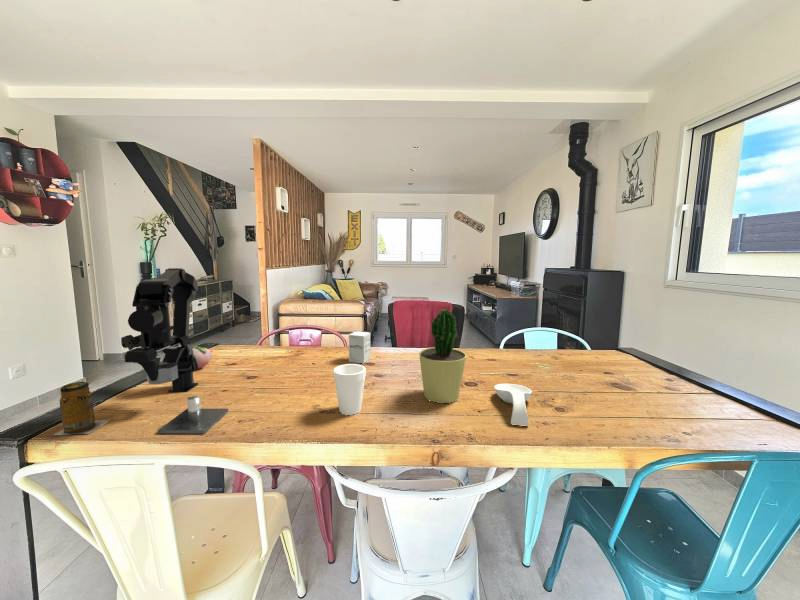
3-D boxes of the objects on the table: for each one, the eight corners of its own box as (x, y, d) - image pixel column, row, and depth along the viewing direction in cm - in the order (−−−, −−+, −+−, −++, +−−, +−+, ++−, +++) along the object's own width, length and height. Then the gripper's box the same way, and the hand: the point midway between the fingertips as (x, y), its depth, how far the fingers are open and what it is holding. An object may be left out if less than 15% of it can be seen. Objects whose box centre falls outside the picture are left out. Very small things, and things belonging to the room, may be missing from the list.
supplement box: (348, 362, 141) (348, 334, 139) (356, 357, 148) (355, 330, 146) (363, 364, 138) (363, 335, 137) (370, 359, 145) (370, 332, 144)
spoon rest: (492, 391, 113) (493, 371, 112) (527, 394, 111) (528, 374, 110) (498, 425, 90) (500, 401, 89) (543, 430, 88) (545, 405, 87)
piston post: (187, 411, 96) (185, 389, 95) (228, 411, 96) (226, 389, 95) (158, 433, 84) (155, 408, 83) (204, 433, 84) (202, 408, 83)
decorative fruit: (180, 371, 128) (178, 346, 127) (199, 364, 136) (197, 341, 135) (199, 373, 126) (197, 348, 124) (216, 366, 133) (215, 343, 132)
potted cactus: (430, 383, 118) (432, 303, 114) (470, 393, 110) (474, 307, 106) (409, 399, 105) (411, 308, 101) (454, 411, 97) (457, 314, 93)
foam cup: (332, 405, 100) (331, 365, 98) (361, 401, 103) (361, 362, 102) (337, 420, 91) (336, 376, 90) (369, 415, 95) (369, 372, 93)
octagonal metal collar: (159, 375, 98) (158, 362, 98) (182, 375, 98) (181, 362, 98) (141, 384, 91) (140, 370, 91) (166, 384, 92) (165, 370, 91)
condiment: (77, 421, 89) (72, 380, 88) (110, 420, 90) (106, 379, 89) (52, 436, 82) (46, 391, 81) (88, 434, 83) (82, 390, 81)
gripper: (153, 317, 102) (158, 365, 104) (100, 331, 83) (106, 388, 85) (189, 318, 102) (192, 365, 104) (143, 331, 84) (149, 389, 86)
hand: (162, 376), depth 95 cm, fingers closed on octagonal metal collar, 7 cm apart
